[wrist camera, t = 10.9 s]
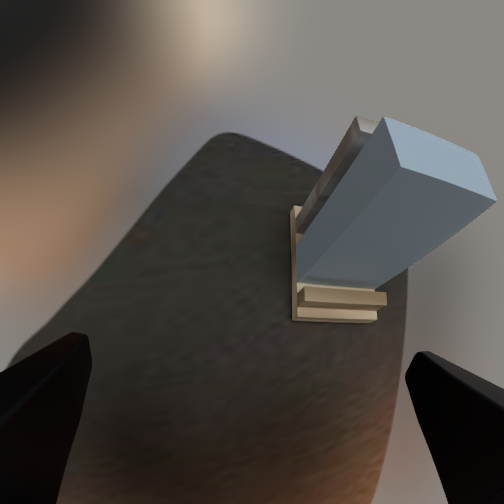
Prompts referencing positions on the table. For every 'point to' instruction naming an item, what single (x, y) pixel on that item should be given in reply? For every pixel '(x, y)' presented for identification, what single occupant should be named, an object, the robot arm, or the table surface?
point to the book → (392, 208)
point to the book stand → (307, 295)
